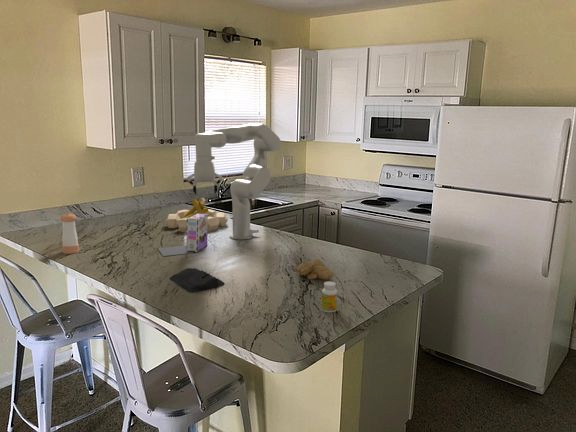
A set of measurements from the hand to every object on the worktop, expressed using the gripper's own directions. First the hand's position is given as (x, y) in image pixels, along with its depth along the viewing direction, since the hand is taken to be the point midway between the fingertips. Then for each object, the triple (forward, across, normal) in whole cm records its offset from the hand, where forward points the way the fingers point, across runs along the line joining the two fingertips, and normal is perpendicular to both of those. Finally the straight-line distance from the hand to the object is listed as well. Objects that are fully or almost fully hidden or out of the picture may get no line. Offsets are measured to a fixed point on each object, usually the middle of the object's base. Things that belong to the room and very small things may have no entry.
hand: (205, 193), depth 239 cm
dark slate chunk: (+27, +4, +53) cm, 60 cm away
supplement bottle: (+26, -43, +87) cm, 100 cm away
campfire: (+28, +7, -44) cm, 52 cm away
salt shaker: (+26, +65, +5) cm, 70 cm away
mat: (+26, +16, +8) cm, 32 cm away
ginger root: (+27, -44, +52) cm, 73 cm away
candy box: (+27, +5, +5) cm, 28 cm away
